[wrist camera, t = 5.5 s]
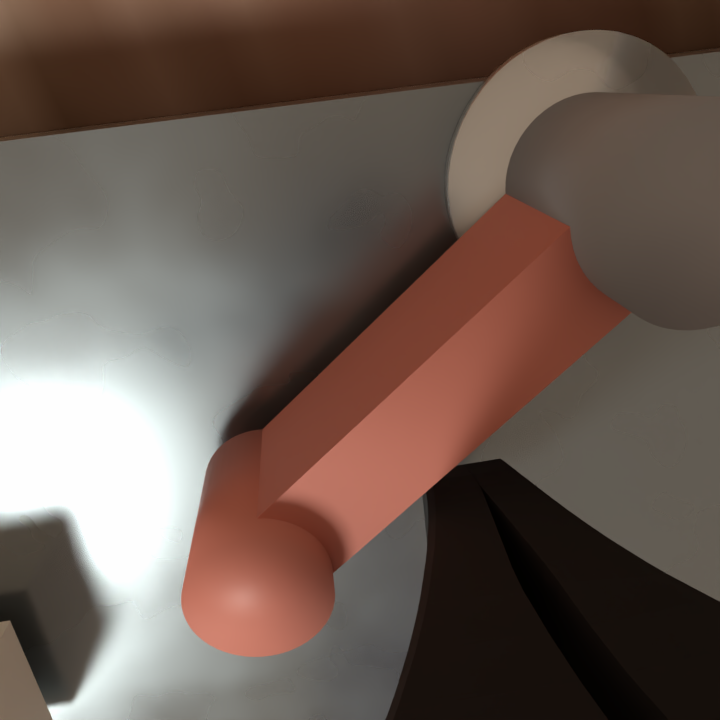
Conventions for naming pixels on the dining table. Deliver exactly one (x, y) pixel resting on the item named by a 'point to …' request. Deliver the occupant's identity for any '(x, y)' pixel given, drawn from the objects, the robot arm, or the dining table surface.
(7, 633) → the cream block
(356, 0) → the dining table surface
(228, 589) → the red lever
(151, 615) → the console
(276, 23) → the dining table surface
